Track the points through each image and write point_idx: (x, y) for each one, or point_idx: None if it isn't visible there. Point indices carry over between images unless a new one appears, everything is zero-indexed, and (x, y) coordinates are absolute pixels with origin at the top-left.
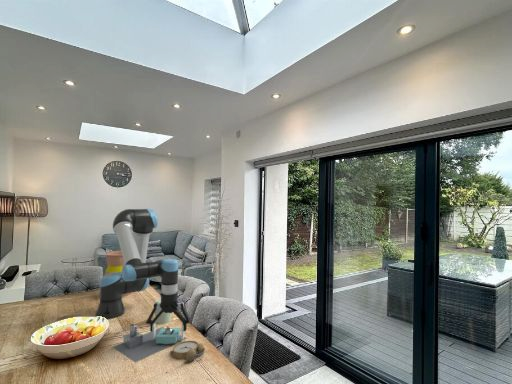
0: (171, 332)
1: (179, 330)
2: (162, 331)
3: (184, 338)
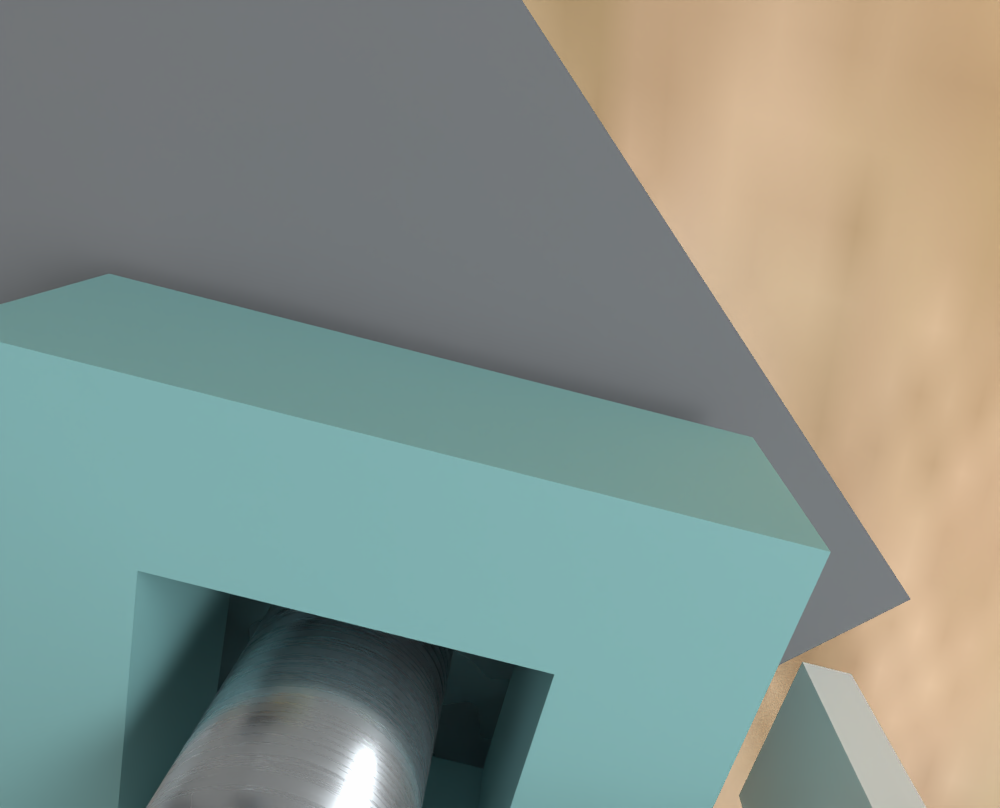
0: (424, 790)
1: (747, 692)
2: (56, 669)
3: (836, 586)
